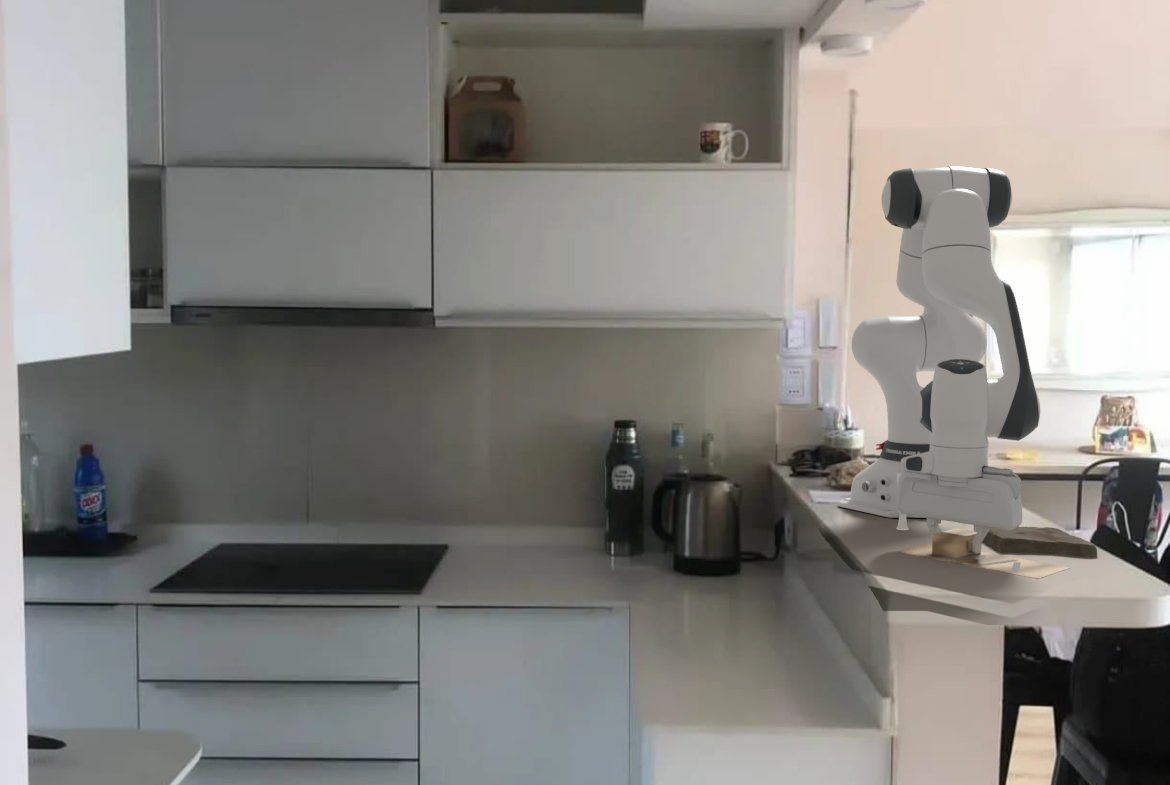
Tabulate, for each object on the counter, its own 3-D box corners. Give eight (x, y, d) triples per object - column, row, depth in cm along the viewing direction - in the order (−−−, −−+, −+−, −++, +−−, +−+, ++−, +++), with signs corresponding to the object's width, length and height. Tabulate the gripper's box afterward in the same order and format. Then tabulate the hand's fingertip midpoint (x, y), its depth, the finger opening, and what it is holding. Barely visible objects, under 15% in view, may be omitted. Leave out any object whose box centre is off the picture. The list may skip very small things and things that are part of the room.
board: (894, 560, 177) (894, 551, 177) (928, 551, 184) (929, 542, 183) (1038, 588, 159) (1038, 578, 159) (1070, 577, 165) (1070, 567, 165)
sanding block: (932, 556, 174) (932, 534, 173) (955, 549, 178) (956, 528, 178) (957, 560, 170) (957, 538, 170) (980, 554, 175) (981, 532, 174)
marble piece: (1100, 569, 172) (1100, 543, 172) (1005, 569, 173) (1005, 543, 172) (1059, 545, 189) (1060, 521, 188) (973, 545, 189) (973, 522, 189)
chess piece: (905, 534, 197) (906, 479, 197) (922, 539, 193) (923, 483, 192) (882, 536, 196) (883, 481, 195) (899, 541, 191) (900, 485, 190)
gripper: (1031, 468, 167) (1029, 557, 168) (913, 454, 183) (912, 536, 184) (1010, 472, 163) (1008, 563, 164) (891, 458, 179) (890, 542, 180)
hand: (956, 549), depth 174 cm, fingers open, 5 cm apart
